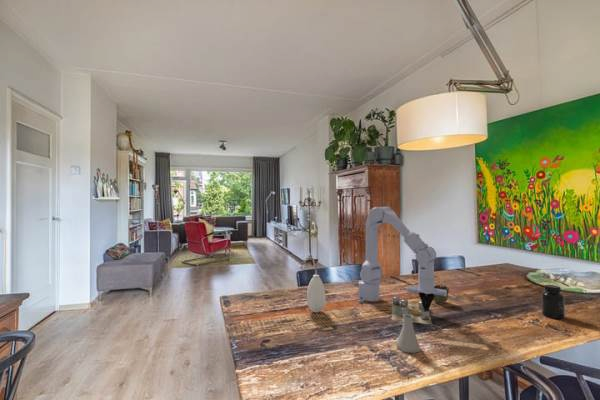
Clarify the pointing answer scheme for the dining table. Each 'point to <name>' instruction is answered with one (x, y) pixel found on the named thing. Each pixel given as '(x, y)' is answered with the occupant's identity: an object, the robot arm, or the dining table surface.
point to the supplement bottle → (553, 302)
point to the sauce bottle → (316, 294)
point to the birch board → (417, 318)
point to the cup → (440, 298)
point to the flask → (408, 336)
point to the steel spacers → (406, 310)
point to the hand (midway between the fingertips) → (426, 312)
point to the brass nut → (413, 310)
